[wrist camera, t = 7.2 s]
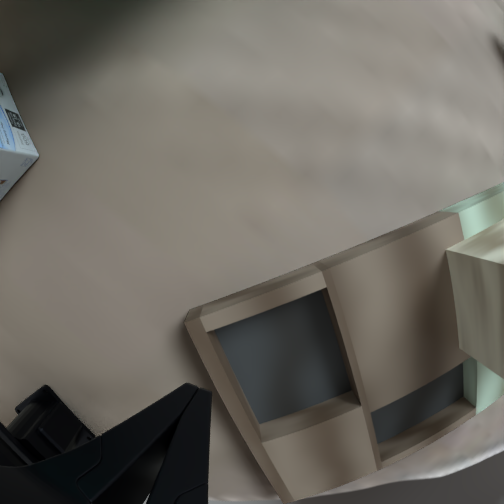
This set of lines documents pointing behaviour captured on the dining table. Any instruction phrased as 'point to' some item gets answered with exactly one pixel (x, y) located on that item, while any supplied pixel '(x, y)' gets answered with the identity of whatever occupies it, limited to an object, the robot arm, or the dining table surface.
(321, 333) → the board
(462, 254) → the ash block
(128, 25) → the dining table surface
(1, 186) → the light bulb box
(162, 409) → the robot arm
